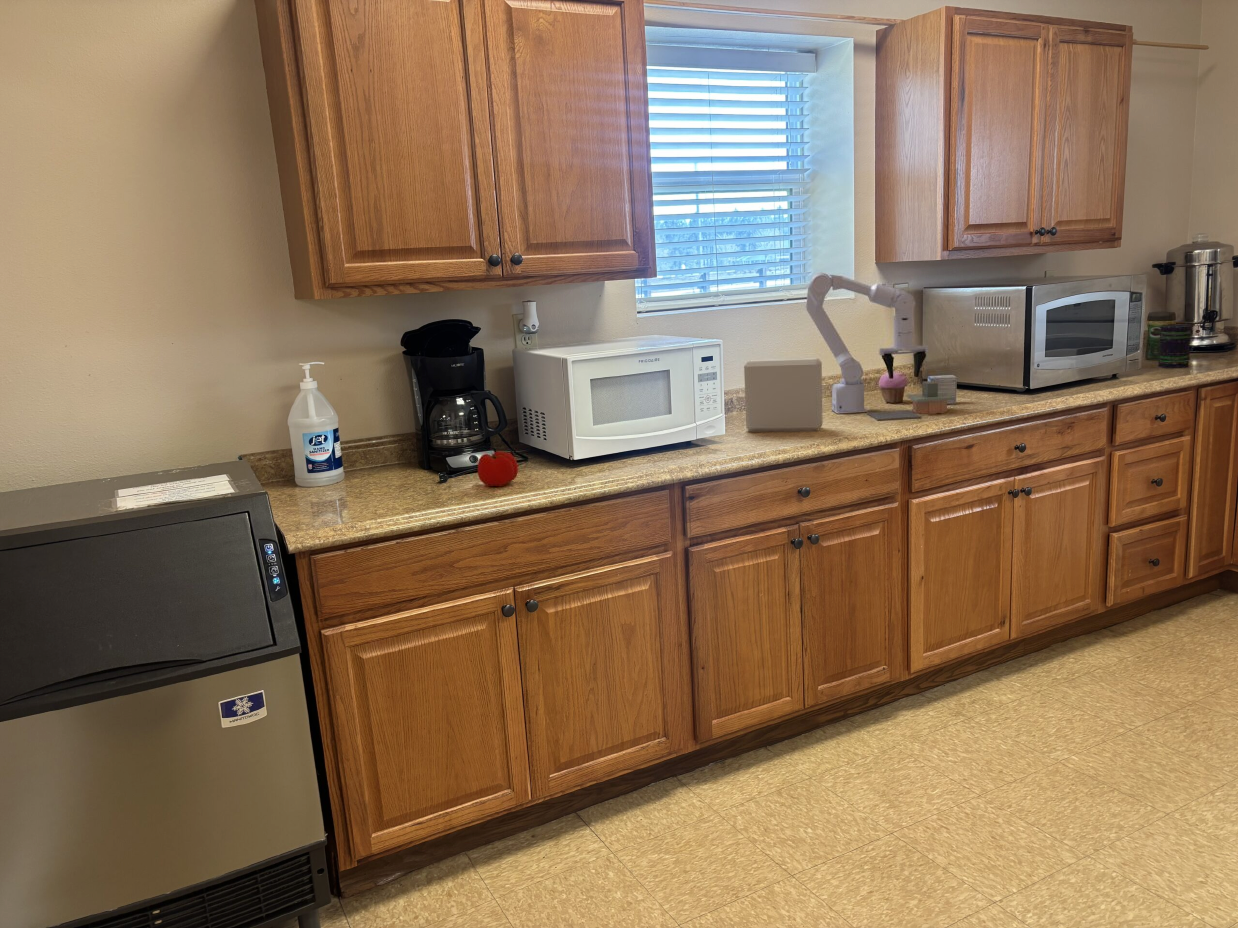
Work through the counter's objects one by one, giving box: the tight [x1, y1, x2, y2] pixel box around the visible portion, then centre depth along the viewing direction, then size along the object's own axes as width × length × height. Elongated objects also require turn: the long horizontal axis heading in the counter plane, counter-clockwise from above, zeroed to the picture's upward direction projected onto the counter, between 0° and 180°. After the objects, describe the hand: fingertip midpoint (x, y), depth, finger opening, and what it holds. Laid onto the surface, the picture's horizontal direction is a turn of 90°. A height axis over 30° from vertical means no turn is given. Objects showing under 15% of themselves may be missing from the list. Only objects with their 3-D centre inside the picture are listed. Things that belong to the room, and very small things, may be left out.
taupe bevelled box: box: [743, 357, 824, 433], centre depth 254 cm, size 21×8×20 cm, turn 73°
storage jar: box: [1157, 324, 1192, 369], centre depth 327 cm, size 10×10×15 cm
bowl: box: [912, 400, 948, 415], centre depth 270 cm, size 9×9×4 cm
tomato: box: [477, 450, 519, 487], centre depth 211 cm, size 9×9×8 cm
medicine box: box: [927, 374, 958, 405], centre depth 282 cm, size 8×4×9 cm, turn 84°
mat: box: [866, 409, 922, 422], centre depth 266 cm, size 12×12×1 cm
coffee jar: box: [1144, 310, 1177, 361], centre depth 349 cm, size 10×8×19 cm
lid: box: [905, 380, 955, 402], centre depth 269 cm, size 11×11×5 cm
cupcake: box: [878, 371, 909, 404], centre depth 290 cm, size 9×9×10 cm
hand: (903, 377), depth 274 cm, fingers open, 7 cm apart
